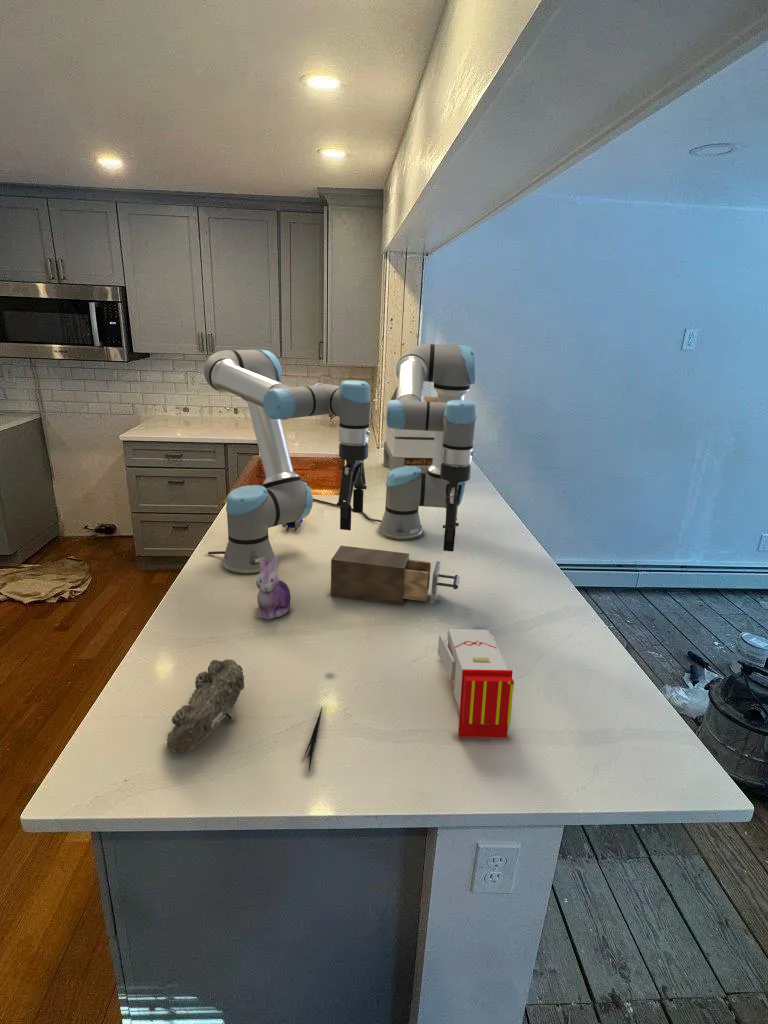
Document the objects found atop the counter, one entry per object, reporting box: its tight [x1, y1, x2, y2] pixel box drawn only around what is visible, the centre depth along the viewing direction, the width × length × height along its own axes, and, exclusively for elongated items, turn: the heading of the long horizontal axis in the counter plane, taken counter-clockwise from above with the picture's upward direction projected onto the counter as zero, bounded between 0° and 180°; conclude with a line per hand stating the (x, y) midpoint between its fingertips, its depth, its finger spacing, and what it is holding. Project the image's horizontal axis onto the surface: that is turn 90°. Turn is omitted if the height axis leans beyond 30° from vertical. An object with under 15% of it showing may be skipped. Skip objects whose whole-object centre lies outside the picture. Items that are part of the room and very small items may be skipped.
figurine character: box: [281, 519, 304, 532], centre depth 201 cm, size 7×8×15 cm
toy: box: [437, 628, 515, 738], centre depth 117 cm, size 12×13×30 cm
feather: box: [301, 673, 332, 771], centre depth 108 cm, size 2×28×2 cm
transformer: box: [383, 387, 438, 472], centre depth 268 cm, size 34×33×41 cm
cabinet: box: [330, 545, 411, 606], centre depth 157 cm, size 20×10×11 cm, turn 79°
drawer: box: [403, 558, 461, 606], centre depth 155 cm, size 24×9×9 cm, turn 79°
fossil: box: [166, 658, 245, 754], centre depth 106 cm, size 22×10×15 cm
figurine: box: [255, 555, 292, 620], centre depth 143 cm, size 9×10×15 cm
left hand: (351, 520), depth 152 cm, fingers open, 13 cm apart
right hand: (448, 550), depth 150 cm, fingers closed
